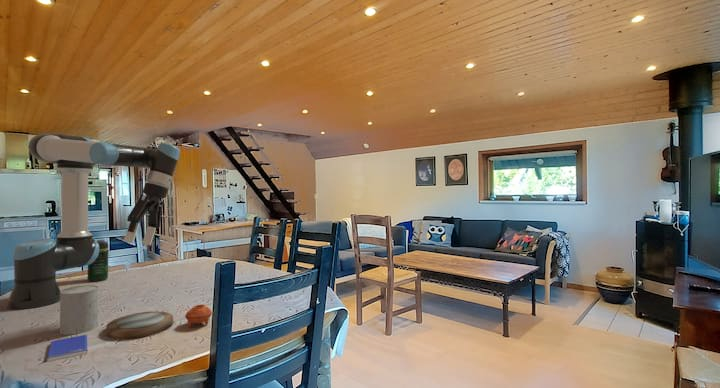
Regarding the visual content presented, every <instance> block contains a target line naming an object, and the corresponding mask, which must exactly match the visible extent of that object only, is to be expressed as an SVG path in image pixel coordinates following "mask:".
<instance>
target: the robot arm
mask: <svg viewBox="0 0 720 388" xmlns="http://www.w3.org/2000/svg"><path fill="white" fill-rule="evenodd" d="M27 146H28V152H29V153H30V154H31V156H32V157H34V159H36V160H38V161H40V162H43V163H48V164H56V166H57V167H56V169H57V170H58V171H59V172H61V231H60V232H59V233H58V234H57V235H56V239H54V238H42V239H33V240H28V241H26V242H21V243H20V244H18V245H16V246H15V248H14V251H13V252H14V253H13V259H14V260H13V265H14V266H13V271H14V273H13V277H14V278H13V279H14V280H13V281H14V283H13V287H12V290H11V292H10V294H9V297H8V298H7V308H9V309H11V310H12V309H14V310H17V309H18V310H22V309H33V308H38V307H43V306H45V307H46V306H48V305H52V304H54V303H55V304H56V303H58V302H60V291H61V289H60V287H59V285H58V282H57V280H56V279H57V278H56V275H57V274H56V272H60V271H64V270H71V269H75V268H82V267H85V266H88V265H89V264H91V263H93V262H94V261H95V260H96V258H97V257H98V254H99V244H98V243H97V242H98V241H97V240H98V239H96V238H94V237H93V233H91V232H90V231H89V174H90V173H91V172H92V171H94V166H96V165H100V166H114V167H127V168H129V167H131V168H141V169H142V168H143V169H145V168H146V169H149V172H148V174H147V177H146V180H145V181H146V183H145V184H144V186H143V189H142V193H141V194H140V196H139V199H138V200H137V201H136V204H135V205H134V206H133V208H132V209H131V211H130V213H129V214H128V215H127V220H126V221H127V222H129V225H128V226H127V231H126V233H125V235H124V239H123V242H126V243H132V244H134V241H135V239H136V237H137V232H138V230H139V227H140V223H139V222H140V221H141V220H142V219H143V218H144V216H146V214H147V213H148V221H149V223H148V224H149V226H147V228H146V231H145V234H144V237H143V239H142V242H141V243H142V244H141V245H146V246H147V245H148V246H151V245H152V242H153V239H154V236H155V232H156V229H159V228H160V227H161V222H162V221H161V220H162V212H163V211H162V210H163V206H164V201H162V200H161V199H166V197H167V194H168V191H169V187H170V185H171V182H173V179H172V178H173V176H174V172H175V170H176V167H177V163H178V162H179V160H180V159H179V158H180V153H181V150H180V148H179V147H178V146H176V145H174V144H170V143H167V142H160V143H159V144H158V146H157V147H156V148H150V147H143V146H133V145H126V144H125V145H124V144H119V143H110V142H106V141H101V142H100V141H94V140H93V139H91V138H88V137H83V136H79V135H78V136H77V135H76V136H75V135H69V134H67V135H66V134H60V133H54V132H43V133H39V134H37V135H34V136H33V137H31V139H30V140H29V142H28V145H27Z"/></svg>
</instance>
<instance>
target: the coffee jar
mask: <svg viewBox="0 0 720 388" xmlns="http://www.w3.org/2000/svg"><path fill="white" fill-rule="evenodd" d="M96 240H97V241H98V242H97V243H98V244H99V254H98V257H97V258H96V260H95V261H94V262H93V263H91V264H89V265H87V281H88V282H101V281H104V280H105V281H106V280H107V279H108V277H109V243H108V241H105V240H103V239H101V240H100V239H96Z"/></svg>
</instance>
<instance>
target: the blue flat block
mask: <svg viewBox="0 0 720 388" xmlns="http://www.w3.org/2000/svg"><path fill="white" fill-rule="evenodd" d="M88 352H89V351H88V335H87V334H83V335H78V336H72V337H67V338H61V339H57V340H52V341H50V343H49V349H48V353H47V358H46V362H52V361H57V360H61V359H66V358H70V357H71V358H72V357H75V356H80V355H85V354H88Z"/></svg>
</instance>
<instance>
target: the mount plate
mask: <svg viewBox="0 0 720 388" xmlns="http://www.w3.org/2000/svg"><path fill="white" fill-rule="evenodd" d="M173 324H174V316H173V314H172V313H170V312H166V311H159V310H157V311H154V310H153V311H144V312H143V311H142V312H137V313H132V314H131V313H130V314H127V315H124V316H121V317H118V318H115V319H113V320H111V321H110V322H109V323H107V324H106V327H105V328H106V330H105V332H106V336H107V337H109V338H110V339H115V340H131V339H132V340H133V339H140V338H146V337H151V336H153V335H154V336H155V335H156V334H160V333H163V332H165V331H166V330H168V329H170V328H171V327H172V326H173Z"/></svg>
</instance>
